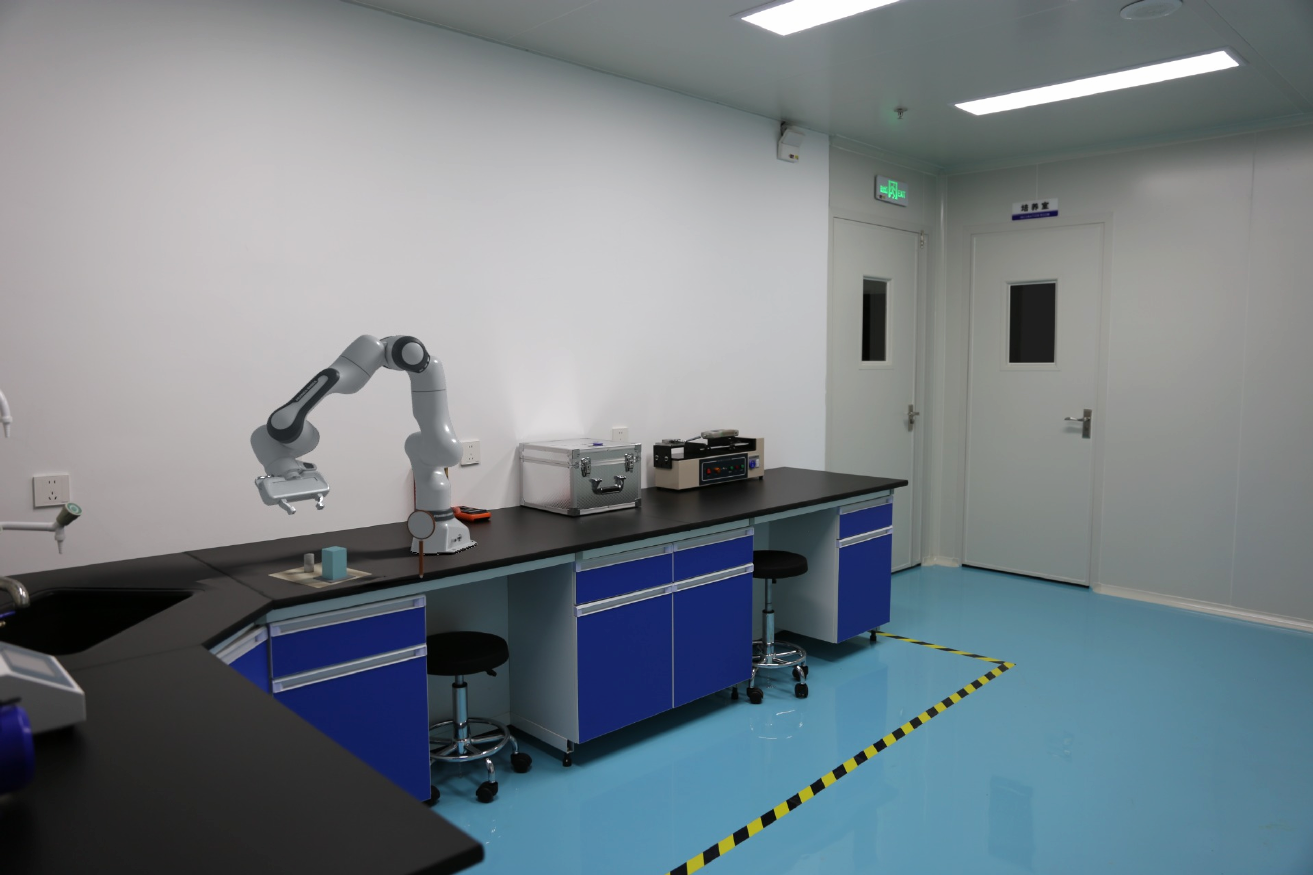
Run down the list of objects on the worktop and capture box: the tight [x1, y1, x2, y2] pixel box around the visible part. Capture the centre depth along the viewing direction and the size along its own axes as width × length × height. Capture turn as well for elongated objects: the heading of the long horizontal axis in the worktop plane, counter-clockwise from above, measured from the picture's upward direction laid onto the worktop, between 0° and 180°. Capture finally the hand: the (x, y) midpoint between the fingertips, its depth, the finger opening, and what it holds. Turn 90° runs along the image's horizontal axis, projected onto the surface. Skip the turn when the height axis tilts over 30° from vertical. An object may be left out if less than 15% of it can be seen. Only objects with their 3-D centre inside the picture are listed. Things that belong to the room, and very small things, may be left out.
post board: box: [268, 553, 372, 589], centre depth 238 cm, size 18×22×6 cm
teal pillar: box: [321, 545, 348, 580], centre depth 235 cm, size 5×5×8 cm
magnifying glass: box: [406, 510, 435, 579], centre depth 242 cm, size 9×2×20 cm, turn 79°
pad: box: [313, 574, 356, 583], centre depth 235 cm, size 8×8×1 cm
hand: (307, 510), depth 239 cm, fingers open, 8 cm apart
